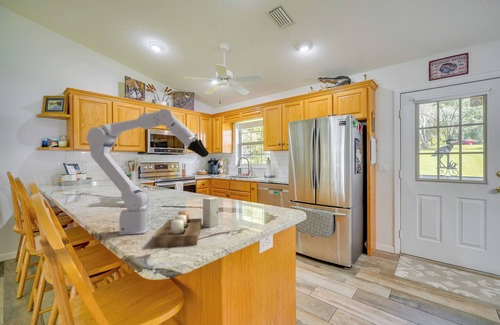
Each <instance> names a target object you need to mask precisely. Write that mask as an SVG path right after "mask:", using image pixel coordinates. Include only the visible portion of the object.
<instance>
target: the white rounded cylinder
mask: <svg viewBox="0 0 500 325" xmlns="http://www.w3.org/2000/svg"><path fill="white" fill-rule="evenodd" d="M183 232H184V220H181V219H178V220H173V221H171V233H172V234H180V233H183Z"/></svg>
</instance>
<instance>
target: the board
mask: <svg viewBox="0 0 500 325" xmlns="http://www.w3.org/2000/svg"><path fill="white" fill-rule="evenodd" d="M173 220H175V218H174V219H172V218H171V219H167V220H166V222H165V223H164V224H163V225H162V226H161V227H160V228H159V230H157V232H156V234H155V235H154V236H153V237H152V247H153V248H158V247H159V248H162V247H176V246H177V247H178V246H179V247H180V246H192V245H193V246H195V245H197V244H198V240H199V238H200V237H199V236H200V234H201V229H202V227H203V217H202V218H200V217H199V218H189V221H188V222H186V227H184V232H183V233H180V234H172V233H171V221H173Z"/></svg>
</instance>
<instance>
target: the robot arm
mask: <svg viewBox="0 0 500 325" xmlns="http://www.w3.org/2000/svg"><path fill="white" fill-rule="evenodd" d="M163 125H164V126H165V127H166V128H167V129H168V130H169V131H170V132H171V134H173V135H174V136H175V137H176V138H177V139H178V140H179V141H180V142H181V143H182V144H183V145H184V146H185V147H186V150H189V151H192V152H193V153H195V154H197V155H198V156H200V157H202V158H206V157H207V156H208V155H210V153H209V151H208V149H207V148H206V146H205V145H204V144H203V141H202V140H201V139H198V138H197V137H198V136H199V134H198V133H197V132H196V133H195V134H194V133H193V132H192V131H191V130H190V129H189V128H188V127H187V126H186V125H185V124H184V123H183V122H182V121H180V120H179V119H178V118H177V117H176V116H175V115H174V114H173V113H172V111H170V109H169V110H168V109H167V108H161V109H159V110H155V111H153V112H149V113H147V112H142V114H140V115H139V116H138V117H137V118H136V119H130V120H123V121H119V122H114V123H113V122H112V123H106V124H105V123H104V124H101V125H99V126H94V127H92V128H90V129H89V130H88V132H87V135H86V138H85V139H86V140H85V141H87V143H88V146H89V151H90V156H91V158H92V159H93V161H95V163H96V164H97V166H99V168H101V170H102V171H103V172H104V173H105V175H106V176H107V177H108V178H109V179H110V180H111V182H112V183H113V184H114V186H116V188H117V189H118V190H119V191H120V195H121V196H120V197H121V199H122V200H123V203H124V205H125V206H124V207H125V208H126V209H123V210H121V212H120V215H119V233H118V235H121V236H123V235H140V234H141V235H142V234H145V233H147V232H148V231H149V230H150V229H151V226H148V206H147V204H148V203H149V201H150V196H149V194H148V193H147V192H146V191H144V190H142V189H141V188H140V187H139V186H137V185H136V184H134V183H133V182H132V180H131V179H130V178H129V177H128V175H127V174H126V173H125V172H124V171H123V169H122V168H121V167H120V165H118V163H117V162H116V161H115V160H114V159H113V157H112V156H111V155H110V151H111V149H112V148H113V147H114V145H115V144H116V142H117V140H118V139H117V138H120V136H121V134H122V133H123V132H127V131H130V130H133V129H138V128H141V129H143V130H147V129H151V128H152V129H153V128H156V127H160V126H163Z"/></svg>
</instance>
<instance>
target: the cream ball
mask: <svg viewBox="0 0 500 325" xmlns="http://www.w3.org/2000/svg"><path fill="white" fill-rule="evenodd" d="M174 219H175V220H178V219H181V220H184V227H186V215H178V214H177V215H175V216H174Z"/></svg>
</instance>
